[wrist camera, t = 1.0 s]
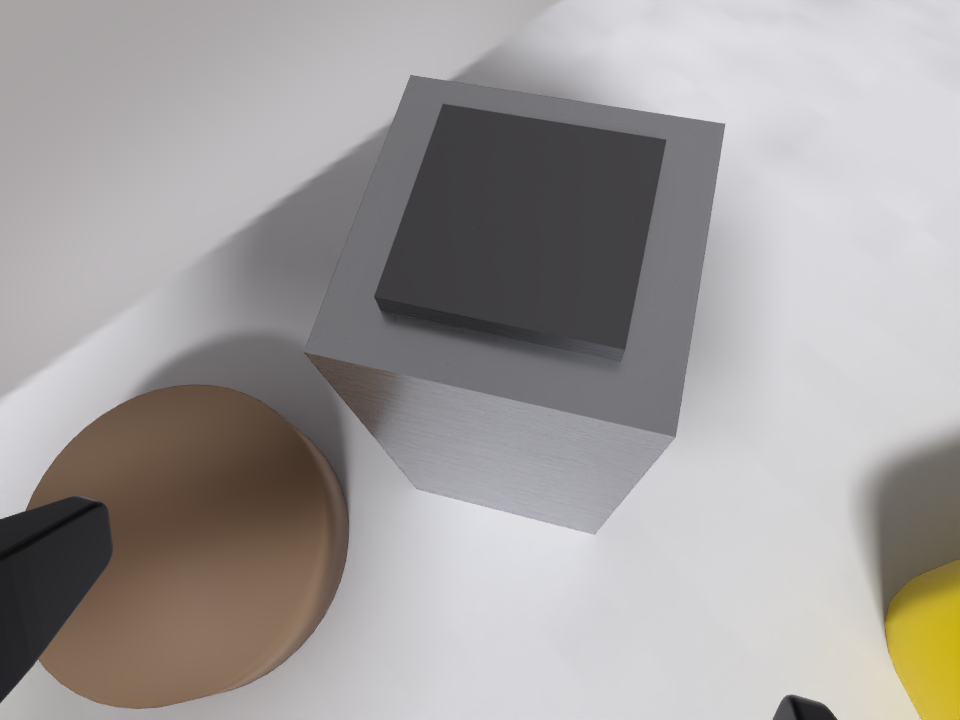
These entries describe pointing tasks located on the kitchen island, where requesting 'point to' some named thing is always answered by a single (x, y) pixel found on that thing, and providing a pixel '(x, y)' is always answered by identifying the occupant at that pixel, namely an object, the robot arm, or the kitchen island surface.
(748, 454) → the kitchen island surface
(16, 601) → the robot arm
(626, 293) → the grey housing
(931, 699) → the element tile
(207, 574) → the walnut stand
